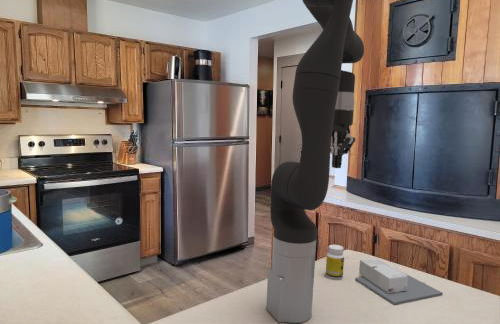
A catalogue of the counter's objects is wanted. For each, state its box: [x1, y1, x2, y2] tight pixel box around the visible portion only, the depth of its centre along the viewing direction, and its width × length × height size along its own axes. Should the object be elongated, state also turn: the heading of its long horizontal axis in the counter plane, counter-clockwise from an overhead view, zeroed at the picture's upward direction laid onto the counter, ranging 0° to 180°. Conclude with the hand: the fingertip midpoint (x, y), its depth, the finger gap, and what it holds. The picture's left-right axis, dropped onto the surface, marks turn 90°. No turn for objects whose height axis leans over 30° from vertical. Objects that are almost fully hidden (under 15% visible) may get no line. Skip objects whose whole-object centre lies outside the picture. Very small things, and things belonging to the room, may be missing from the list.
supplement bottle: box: [325, 244, 345, 280], centre depth 99 cm, size 5×5×8 cm
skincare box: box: [358, 257, 409, 293], centre depth 96 cm, size 6×4×12 cm
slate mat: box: [354, 271, 443, 306], centre depth 94 cm, size 16×14×1 cm
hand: (336, 167), depth 107 cm, fingers closed
